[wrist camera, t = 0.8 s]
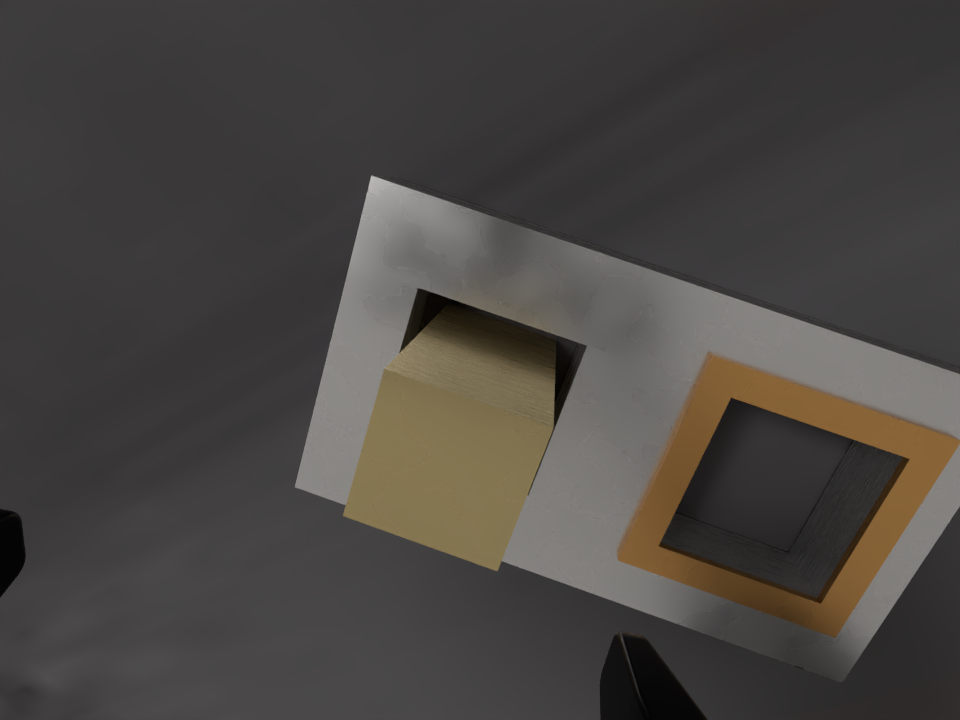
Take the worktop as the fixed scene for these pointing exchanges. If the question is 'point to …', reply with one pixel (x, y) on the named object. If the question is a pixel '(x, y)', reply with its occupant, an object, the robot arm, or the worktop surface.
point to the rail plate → (660, 425)
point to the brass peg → (457, 435)
